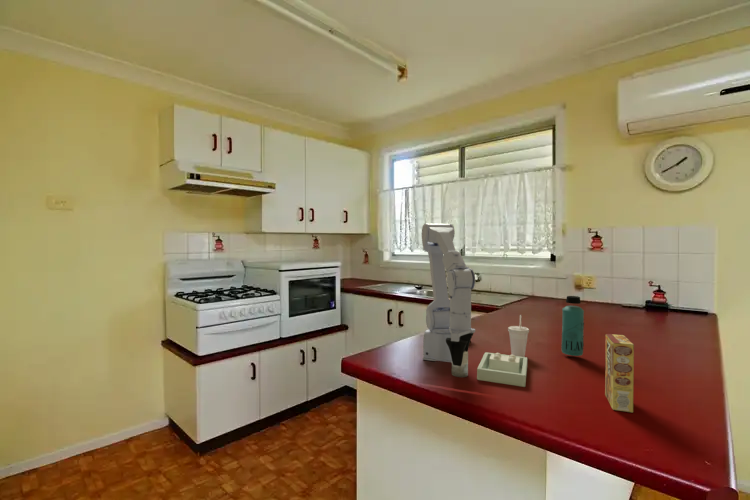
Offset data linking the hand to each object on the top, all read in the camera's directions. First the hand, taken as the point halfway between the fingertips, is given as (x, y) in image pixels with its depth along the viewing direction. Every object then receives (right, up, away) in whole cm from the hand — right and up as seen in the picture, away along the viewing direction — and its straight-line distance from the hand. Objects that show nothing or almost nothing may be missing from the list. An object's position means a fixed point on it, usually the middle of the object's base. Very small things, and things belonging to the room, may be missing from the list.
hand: (459, 361), depth 103 cm
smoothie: (+23, -4, +16) cm, 28 cm away
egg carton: (+14, -4, +5) cm, 15 cm away
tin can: (0, -4, 0) cm, 4 cm away
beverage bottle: (+40, -4, +17) cm, 44 cm away
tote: (+13, -4, +1) cm, 13 cm away
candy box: (+33, -5, -17) cm, 37 cm away
